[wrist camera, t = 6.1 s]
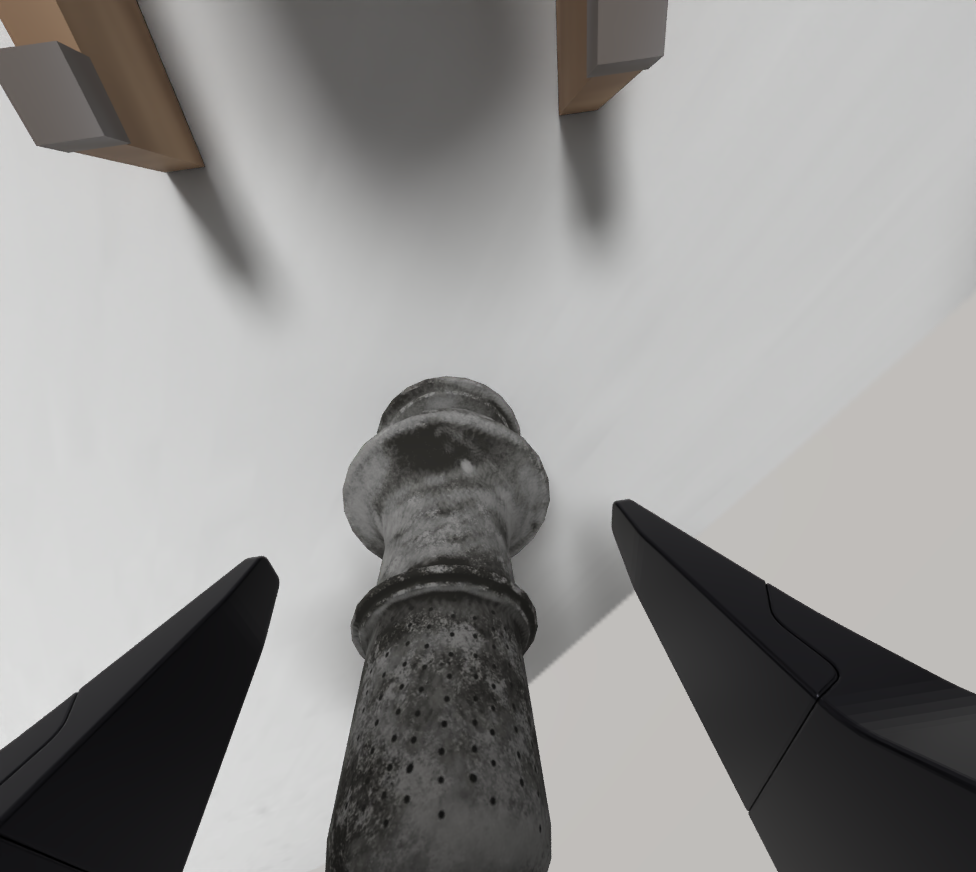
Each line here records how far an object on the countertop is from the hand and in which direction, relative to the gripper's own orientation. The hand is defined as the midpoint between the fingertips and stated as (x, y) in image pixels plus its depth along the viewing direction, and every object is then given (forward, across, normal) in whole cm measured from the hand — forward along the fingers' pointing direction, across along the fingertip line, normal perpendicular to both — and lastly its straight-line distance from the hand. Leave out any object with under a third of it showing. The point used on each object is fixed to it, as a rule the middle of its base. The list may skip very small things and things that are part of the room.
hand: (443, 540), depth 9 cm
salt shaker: (+5, 0, 0) cm, 5 cm away
